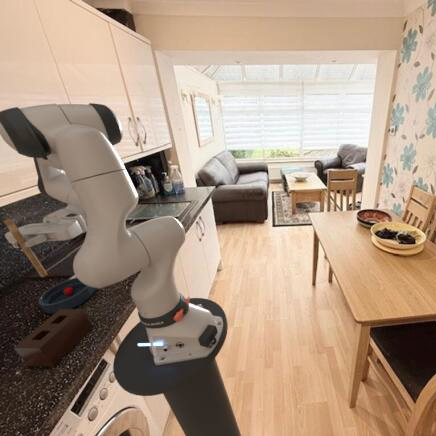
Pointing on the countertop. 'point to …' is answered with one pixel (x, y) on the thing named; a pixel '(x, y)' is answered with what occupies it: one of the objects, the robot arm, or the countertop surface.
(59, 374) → the countertop surface
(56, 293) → the bowl
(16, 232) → the stirring stick
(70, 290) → the cherry tomato
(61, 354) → the utensil block
